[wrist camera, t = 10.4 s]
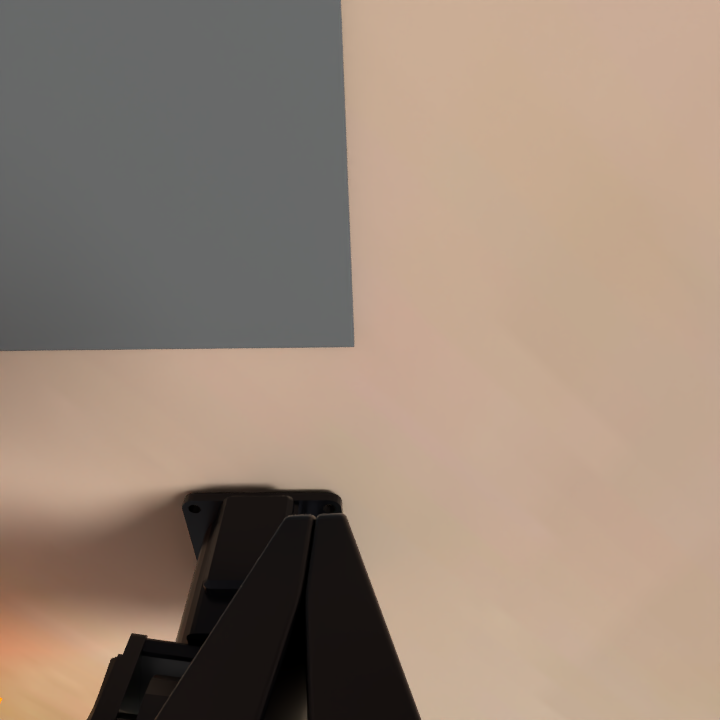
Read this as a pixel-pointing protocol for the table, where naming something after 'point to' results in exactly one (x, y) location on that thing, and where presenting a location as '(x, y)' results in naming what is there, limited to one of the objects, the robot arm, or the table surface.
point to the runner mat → (173, 175)
